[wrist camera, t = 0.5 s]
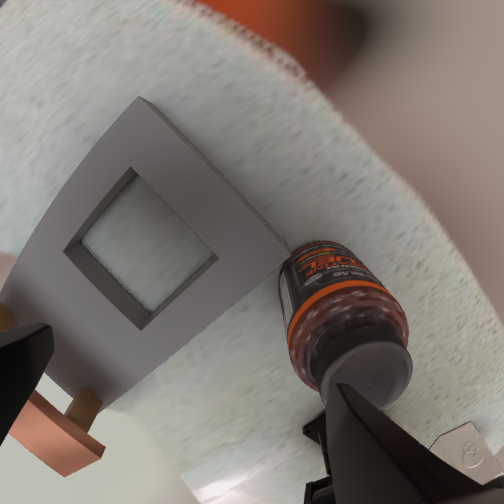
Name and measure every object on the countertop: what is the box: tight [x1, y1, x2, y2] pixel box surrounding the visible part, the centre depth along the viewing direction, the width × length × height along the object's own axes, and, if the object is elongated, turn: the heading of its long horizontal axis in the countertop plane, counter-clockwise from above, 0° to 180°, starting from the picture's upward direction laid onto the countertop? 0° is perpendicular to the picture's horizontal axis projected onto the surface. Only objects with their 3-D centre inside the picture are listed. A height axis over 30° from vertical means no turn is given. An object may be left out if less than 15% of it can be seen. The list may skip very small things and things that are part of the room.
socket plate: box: [0, 96, 291, 414], centre depth 21 cm, size 13×22×2 cm, turn 133°
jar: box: [429, 422, 504, 489], centre depth 23 cm, size 9×8×12 cm
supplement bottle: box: [279, 241, 413, 410], centre depth 17 cm, size 6×6×11 cm
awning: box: [0, 302, 106, 477], centre depth 18 cm, size 13×6×8 cm, turn 43°
